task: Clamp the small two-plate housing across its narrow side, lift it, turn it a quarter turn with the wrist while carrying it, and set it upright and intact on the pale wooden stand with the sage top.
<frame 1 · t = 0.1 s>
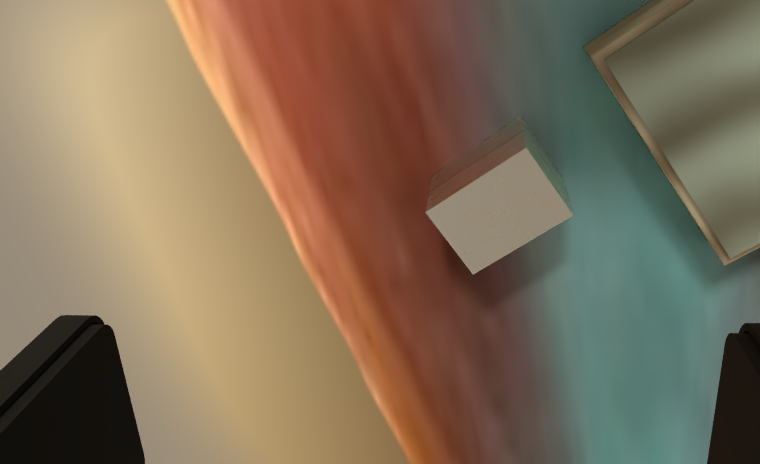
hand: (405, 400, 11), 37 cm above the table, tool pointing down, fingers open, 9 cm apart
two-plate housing: (496, 174, 48), on the table
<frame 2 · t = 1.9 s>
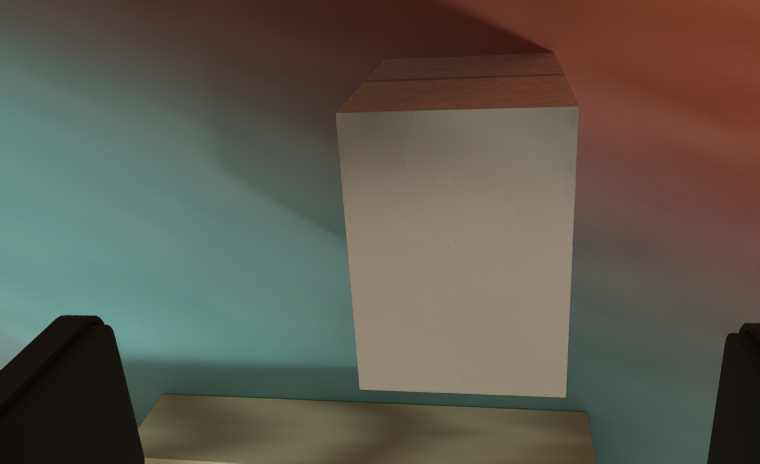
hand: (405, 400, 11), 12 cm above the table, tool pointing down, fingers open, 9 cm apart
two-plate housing: (469, 168, 22), on the table
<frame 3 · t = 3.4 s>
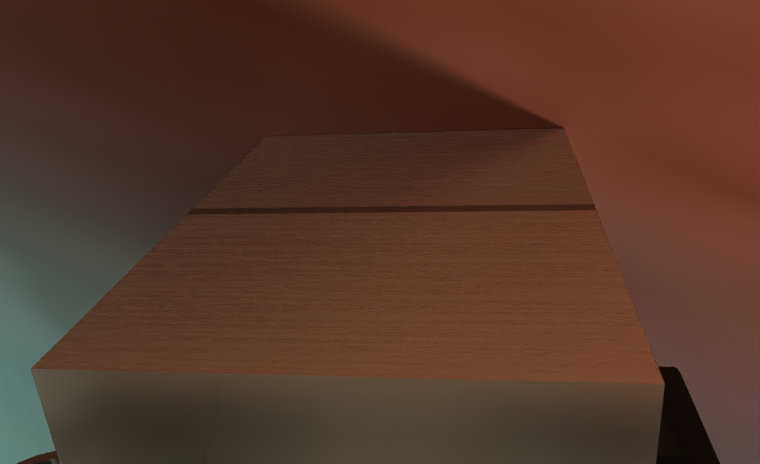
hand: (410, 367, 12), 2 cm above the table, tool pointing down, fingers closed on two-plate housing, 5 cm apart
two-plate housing: (419, 314, 13), on the table, touching gripper
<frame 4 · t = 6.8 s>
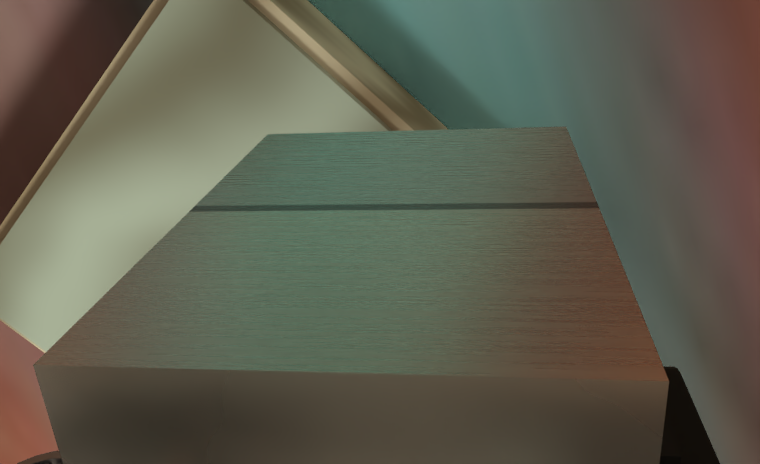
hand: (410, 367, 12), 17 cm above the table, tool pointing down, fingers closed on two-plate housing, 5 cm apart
wooden stand: (259, 235, 31), on the table
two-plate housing: (420, 313, 13), point 16 cm above the table, touching gripper
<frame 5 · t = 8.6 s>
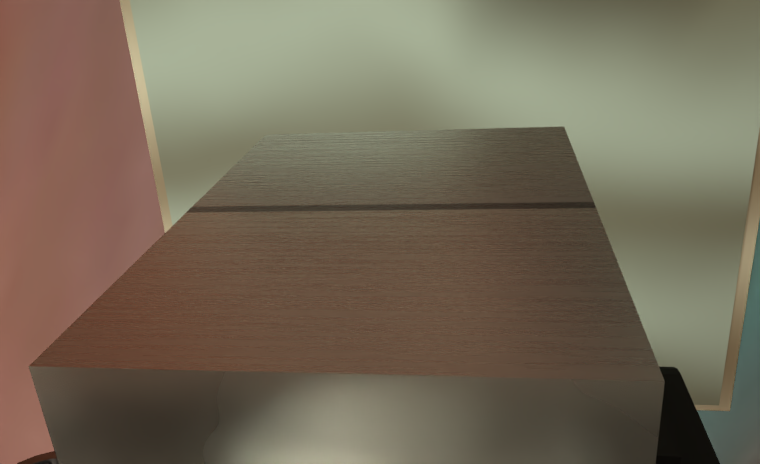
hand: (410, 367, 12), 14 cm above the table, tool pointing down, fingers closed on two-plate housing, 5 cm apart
wooden stand: (447, 145, 24), on the table
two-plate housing: (419, 313, 13), point 12 cm above the table, touching gripper
when the fingers open (7 cm above the table, at t = 10.1 s): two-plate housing drops 1 cm, resting on wooden stand.
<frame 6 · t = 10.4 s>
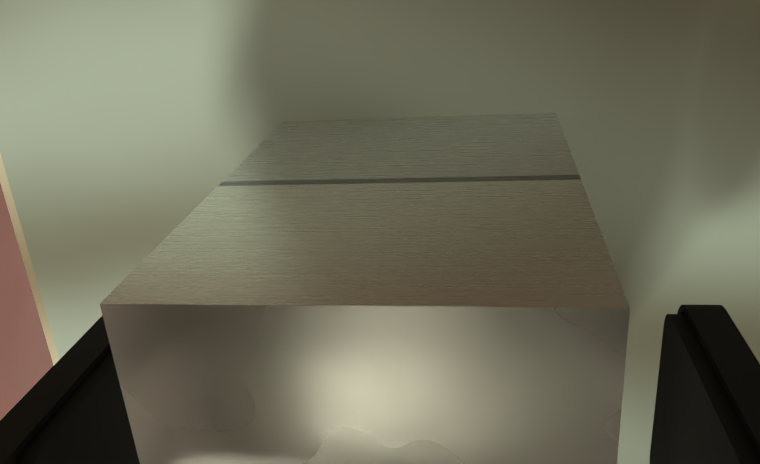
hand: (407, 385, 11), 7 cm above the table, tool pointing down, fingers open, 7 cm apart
wooden stand: (435, 211, 18), on the table
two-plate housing: (423, 286, 14), point 4 cm above the table, touching wooden stand
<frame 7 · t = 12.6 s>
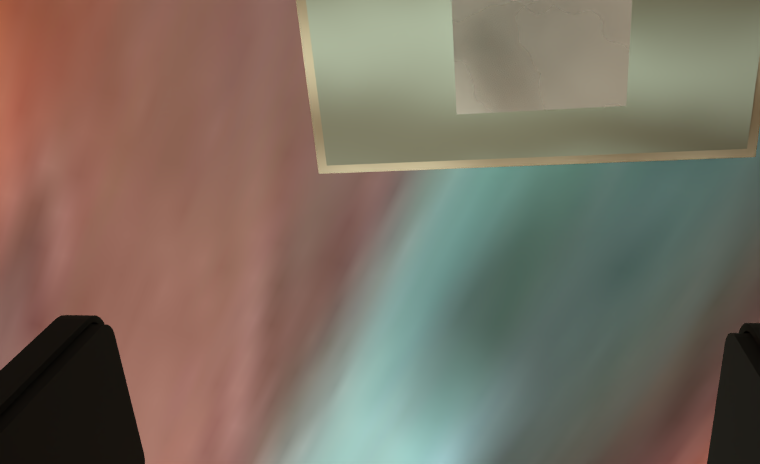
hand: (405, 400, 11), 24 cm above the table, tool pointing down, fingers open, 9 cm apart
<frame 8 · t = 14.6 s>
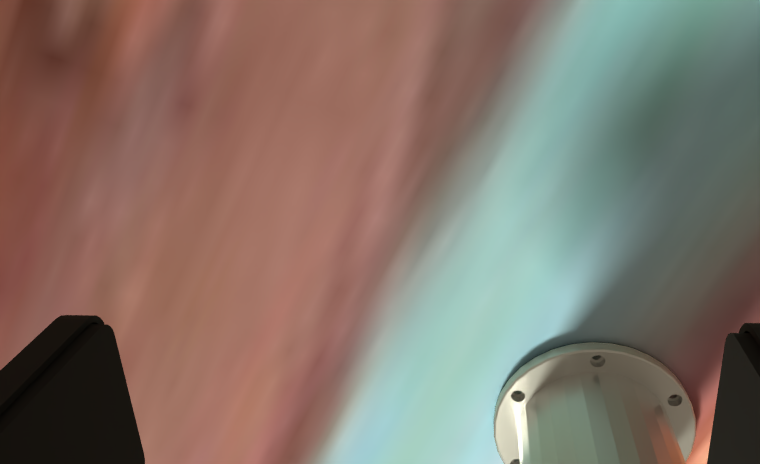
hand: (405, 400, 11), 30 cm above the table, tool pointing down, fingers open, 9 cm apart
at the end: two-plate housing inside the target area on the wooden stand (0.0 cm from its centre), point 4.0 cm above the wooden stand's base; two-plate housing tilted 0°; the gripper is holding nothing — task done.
